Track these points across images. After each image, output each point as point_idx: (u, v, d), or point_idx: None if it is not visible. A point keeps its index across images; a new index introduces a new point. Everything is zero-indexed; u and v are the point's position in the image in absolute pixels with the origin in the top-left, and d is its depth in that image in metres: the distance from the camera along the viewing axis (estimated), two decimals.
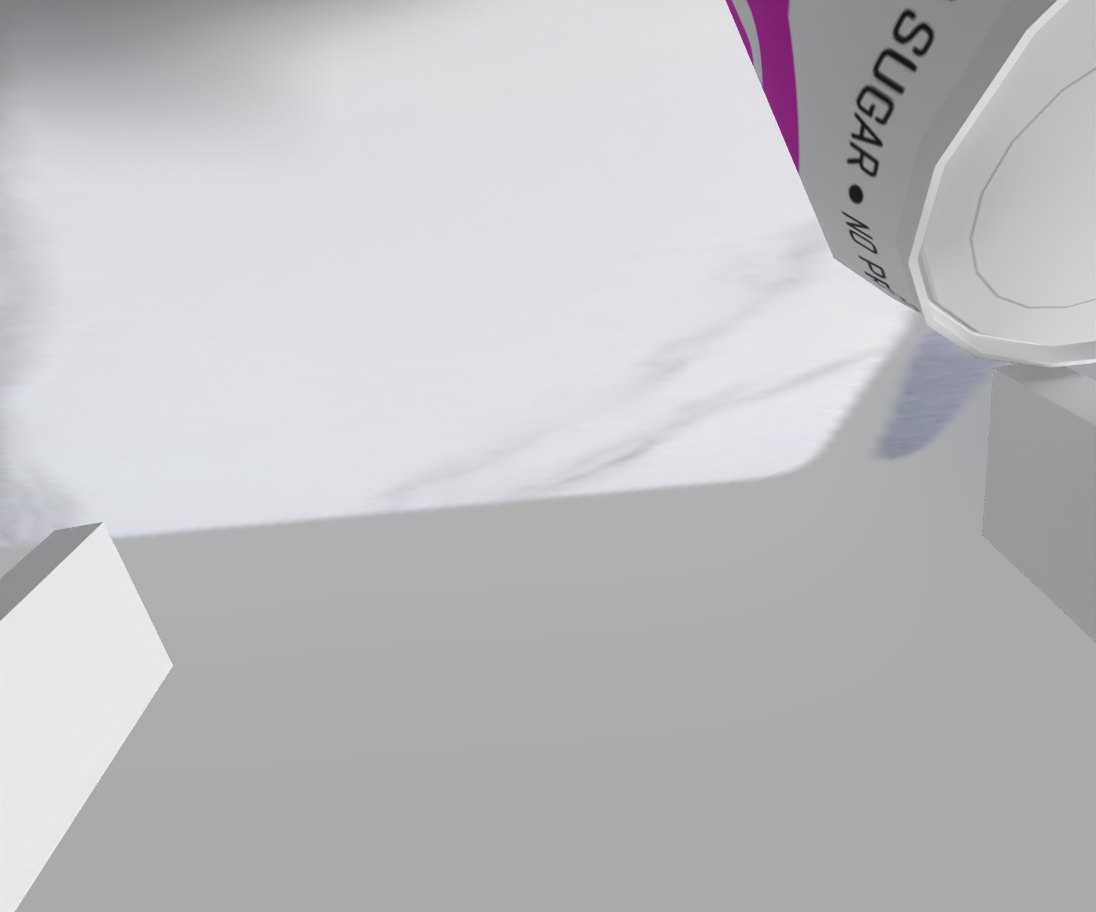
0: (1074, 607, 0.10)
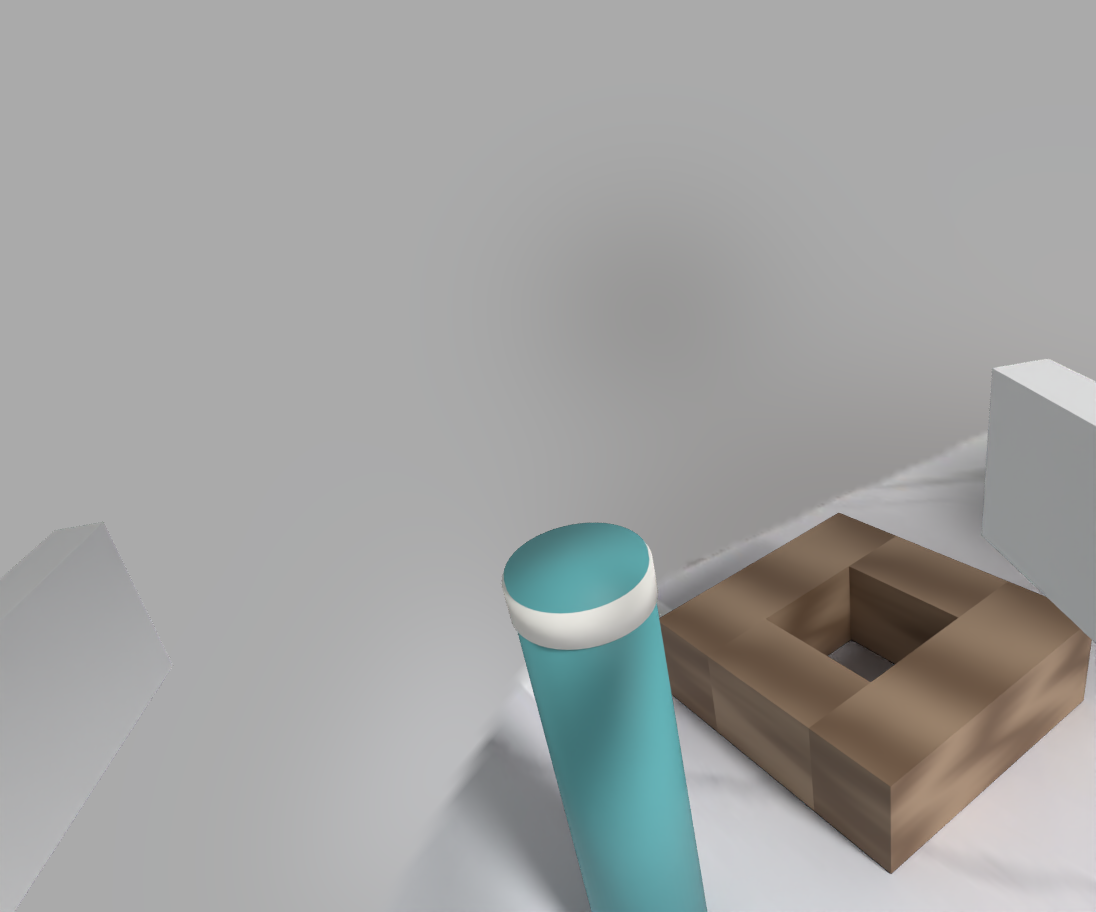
0: (1073, 606, 0.10)
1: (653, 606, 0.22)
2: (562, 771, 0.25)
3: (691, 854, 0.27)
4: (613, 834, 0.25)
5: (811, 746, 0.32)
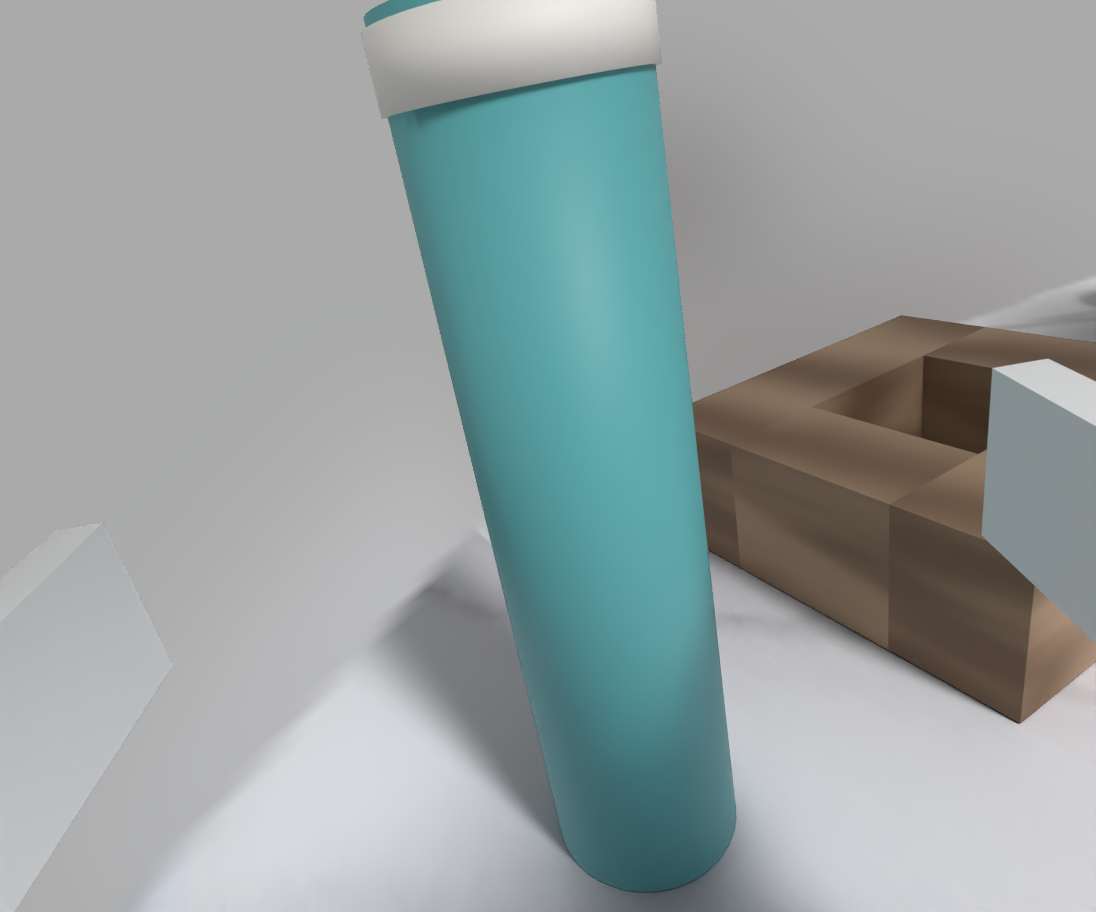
0: (1072, 606, 0.10)
1: (652, 57, 0.11)
2: (482, 446, 0.14)
3: (710, 639, 0.16)
4: (573, 566, 0.14)
5: (891, 535, 0.21)
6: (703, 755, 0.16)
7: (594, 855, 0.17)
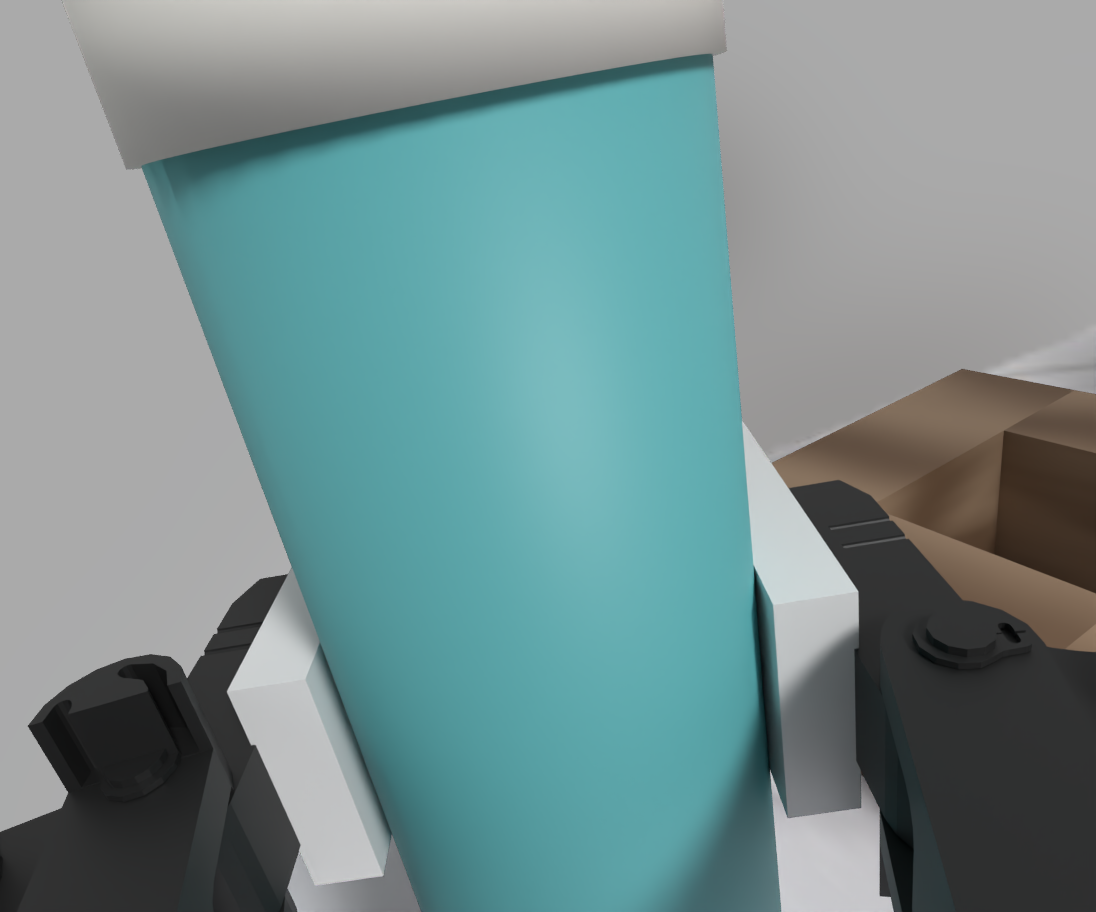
0: None
1: (713, 38, 0.05)
2: (375, 775, 0.07)
3: None
4: None
5: None
6: None
7: None
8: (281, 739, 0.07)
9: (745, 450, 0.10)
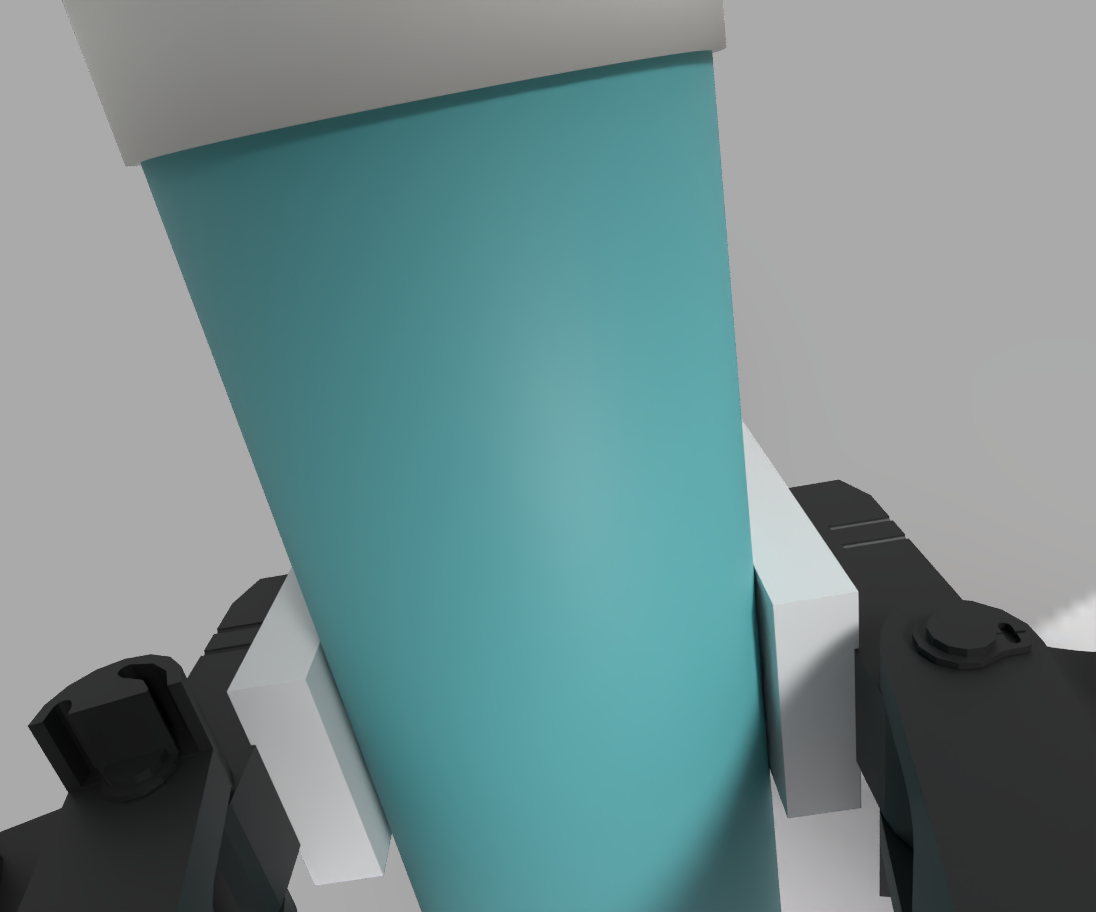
0: None
1: (713, 35, 0.05)
2: (375, 773, 0.07)
3: None
4: None
5: None
6: None
7: None
8: (281, 739, 0.07)
9: (745, 450, 0.10)
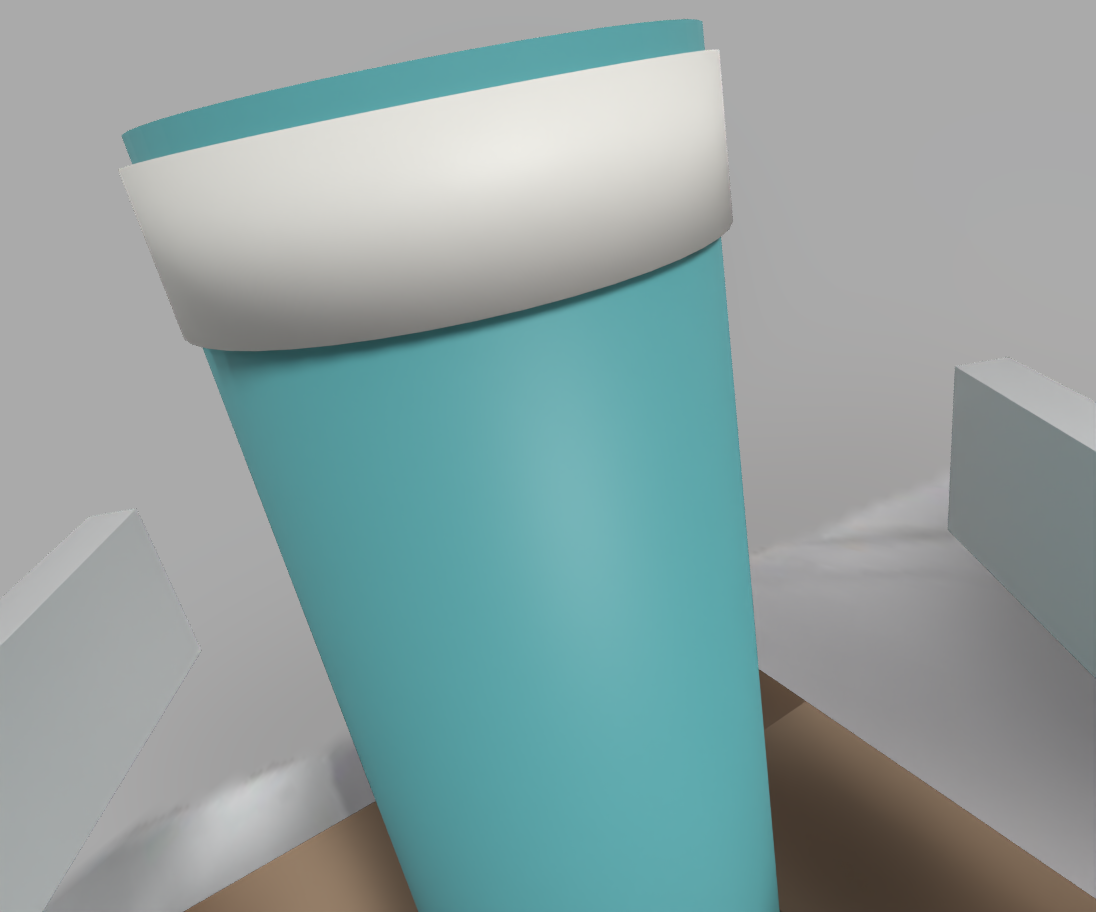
0: (1029, 597, 0.10)
1: (721, 224, 0.06)
2: (403, 862, 0.08)
3: None
4: None
5: None
6: None
7: None
8: None
9: None
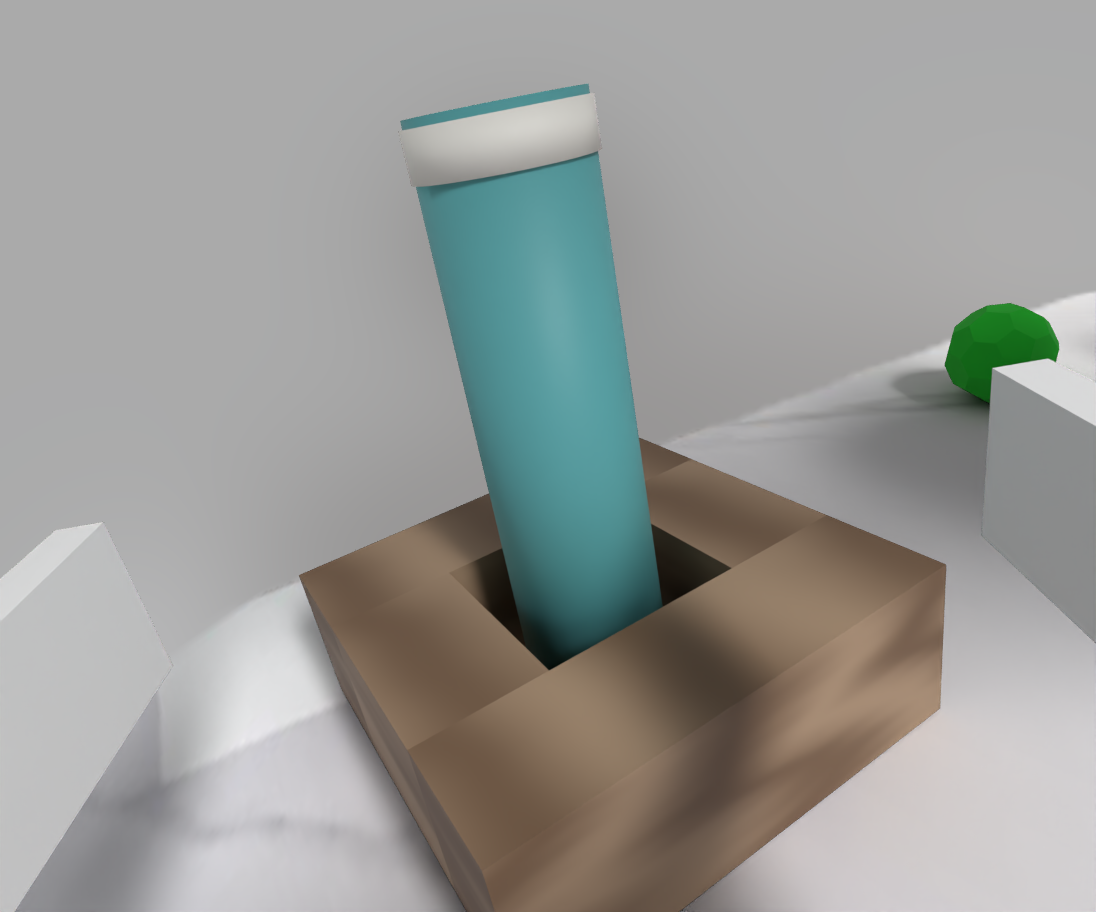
0: (1072, 606, 0.10)
1: (593, 148, 0.17)
2: (480, 412, 0.19)
3: (648, 556, 0.22)
4: (546, 496, 0.19)
5: (418, 782, 0.18)
6: None
7: None
8: None
9: None
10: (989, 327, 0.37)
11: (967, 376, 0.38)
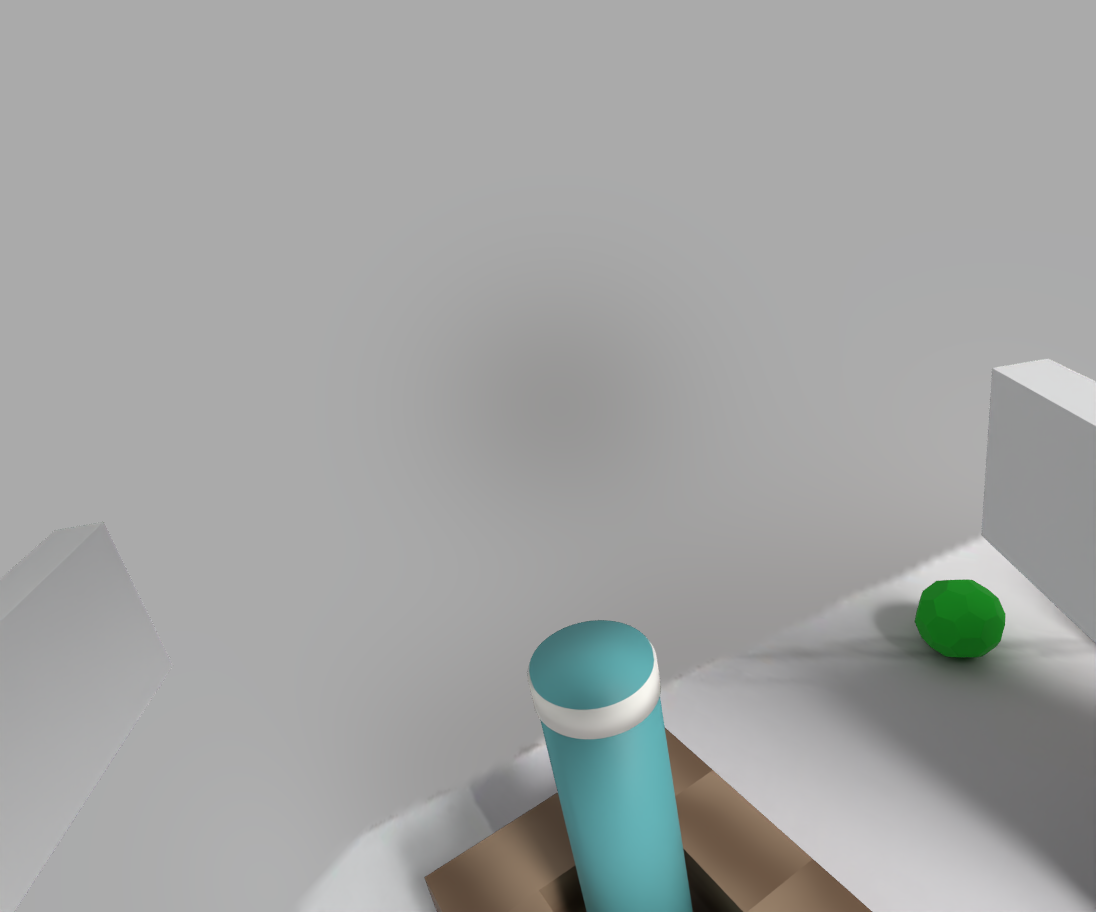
0: (1072, 606, 0.10)
1: (657, 700, 0.26)
2: (575, 835, 0.29)
3: (686, 907, 0.31)
4: (619, 891, 0.29)
5: None
6: None
7: None
8: None
9: None
10: (949, 605, 0.46)
11: (932, 639, 0.47)
